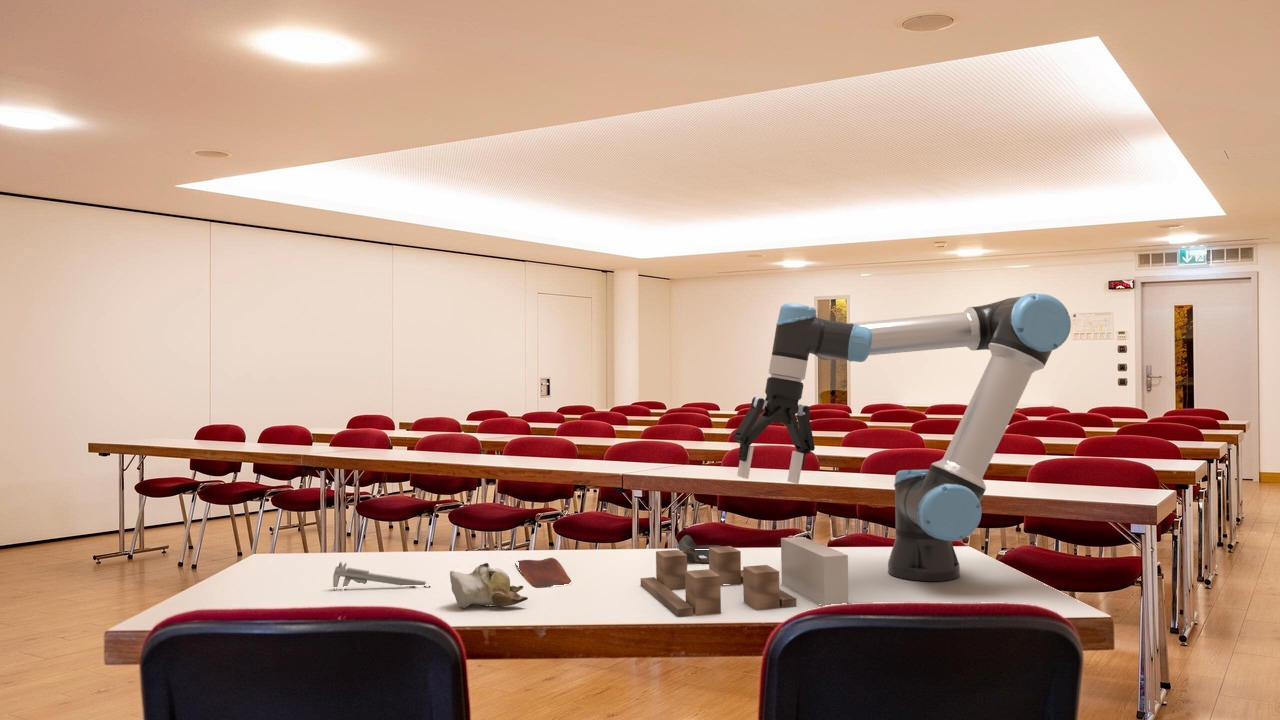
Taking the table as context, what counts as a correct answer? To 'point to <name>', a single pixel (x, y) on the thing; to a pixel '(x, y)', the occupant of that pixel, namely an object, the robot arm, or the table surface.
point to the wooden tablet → (544, 572)
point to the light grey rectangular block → (814, 571)
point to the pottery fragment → (695, 555)
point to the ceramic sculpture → (484, 587)
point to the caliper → (368, 577)
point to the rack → (713, 583)
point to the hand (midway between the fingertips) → (768, 480)
